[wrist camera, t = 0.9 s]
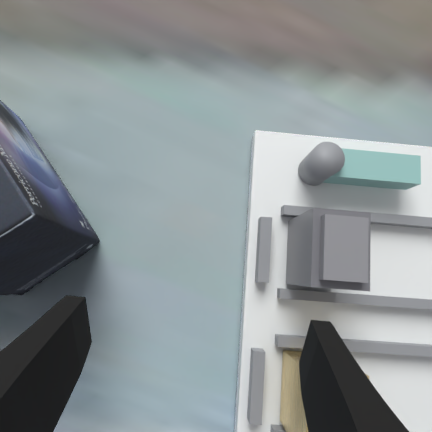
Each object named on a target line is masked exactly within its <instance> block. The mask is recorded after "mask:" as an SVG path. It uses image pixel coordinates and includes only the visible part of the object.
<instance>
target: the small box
mask: <svg viewBox="0 0 432 432" xmlns="http://www.w3.org/2000/svg"><path fill="white" fill-rule="evenodd" d="M98 243H99V238H98V236H97V235H96V233H95V231H94V230H93V228H92V227H91V225H90V224H89V222H88V221H87V219H86V218H85V216H84V215H83V213H82V212H81V210H80V209H79V207H78V205H77V204H76V202H75V201H74V199H73V198H72V196H71V195H70V193H69V191H68V190H67V188H66V187H65V185H64V184H63V182H62V181H61V179H60V178H59V176H58V175H57V173H56V171H55V170H54V168H53V167H52V165H51V164H50V162H49V161H48V159H47V158H46V156H45V155H44V153H43V152H42V150H41V149H40V147H39V146H38V144H37V143H36V141H35V139H34V138H33V136H32V135H31V133H30V132H29V130H28V129H27V127H26V126H25V124H24V123H23V121H22V120H21V119H20V118H19V117H18V116H17V115H16V114H15V113H14V112H13V111H12V110H11V109H10V108H8V107H7V106H6V105H5V104H4V103H3V102H2V101H1V100H0V295H8V294H16V295H23V294H24V293H25V292H28V291H29V290H30V289H31V288H33V286H34V285H36V284H37V283H40V282H42V280H43V279H45V278H47V277H48V276H50V275H51V274H53V273H54V272H55V271H57V270H59V269H60V268H62V267H64V266H66V265H67V264H68V263H69V262H71V261H73V260H74V259H78V258H79V257H80V256H82V255H83V254H84V253H86V252H87V251H88V250H90V249H91V248H92V247H93V246H95V245H96V244H98Z"/></svg>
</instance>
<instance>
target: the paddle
mask: <svg viewBox="0 0 432 432" xmlns="http://www.w3.org/2000/svg"><path fill="white" fill-rule="evenodd" d="M298 174H299V176H300V178H301V180H302V181H303V182H304V183H306V184H308V185H312V186H316V185H319V184H321V183H333V184H345V185H356V186H367V187H378V188H390V189H401V190H407V189H410V188H412V187H415V186H417V185H420V184H421V156H418V155H408V154H397V153H386V152H376V151H365V150H354V149H344V148H340V147H339V146H338V145H337V144H335V143H332V142H322V143H320V144H318V145H317V146H316V147H315V148H314V149H313V150H312V151H311V152H310V153H309V154H308V155H307V156H306V157H305V158H304V159H303V160H302V161H301V162H300V164H299V167H298Z"/></svg>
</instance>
